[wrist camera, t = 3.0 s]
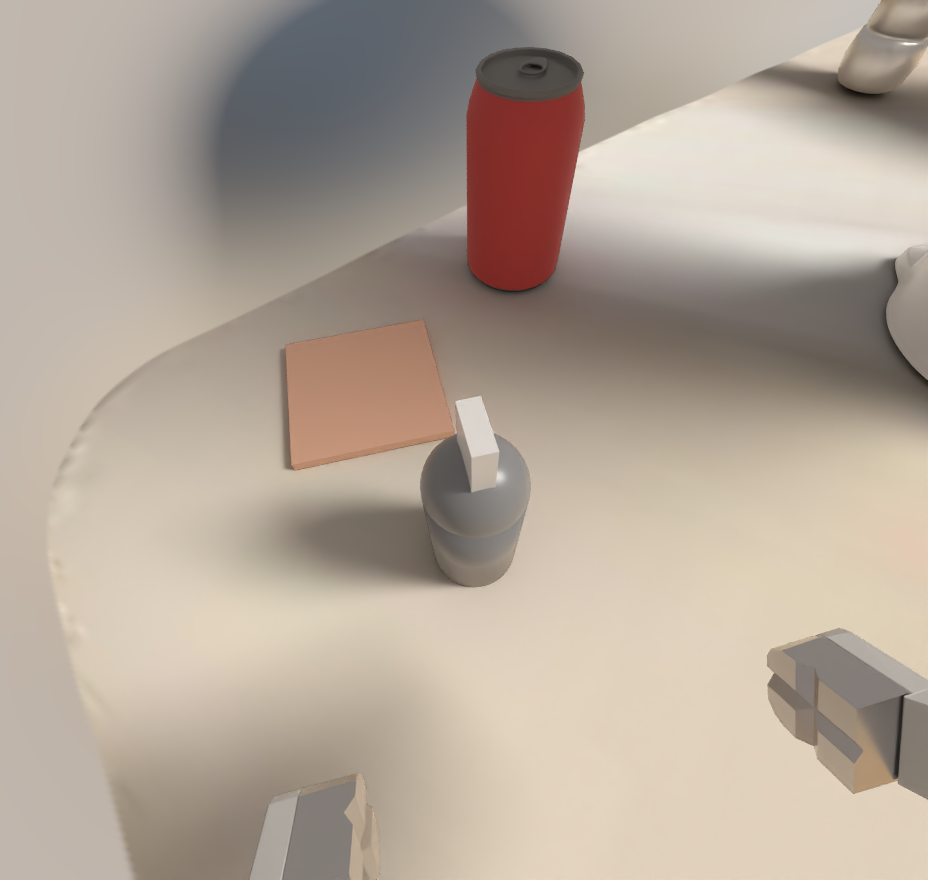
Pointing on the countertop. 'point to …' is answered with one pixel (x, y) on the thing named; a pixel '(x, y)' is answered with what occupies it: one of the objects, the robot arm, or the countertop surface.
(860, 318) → the countertop surface
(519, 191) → the beer can
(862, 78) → the plastic bottle
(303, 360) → the tile
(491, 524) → the grey pump bottle
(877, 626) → the countertop surface
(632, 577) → the countertop surface
